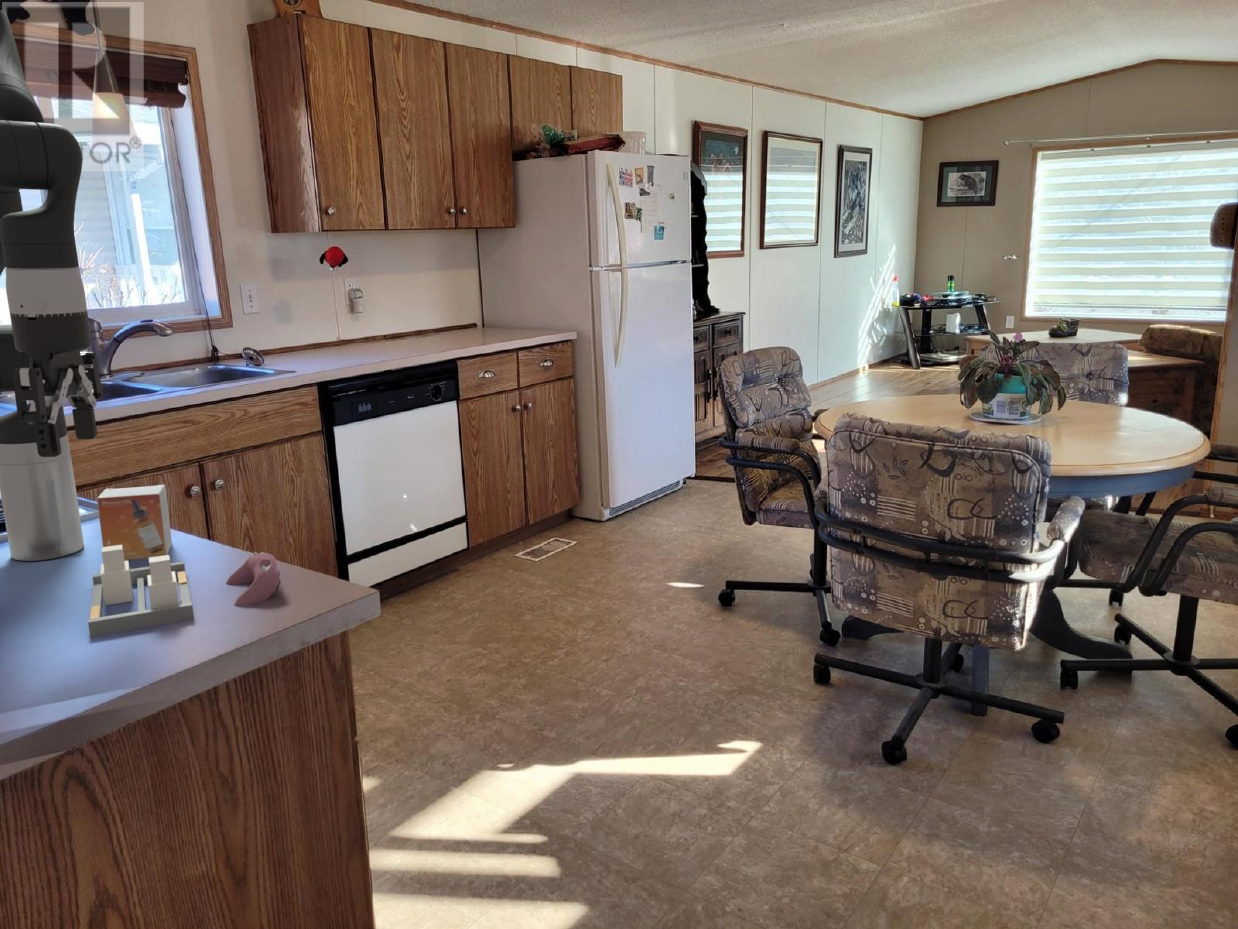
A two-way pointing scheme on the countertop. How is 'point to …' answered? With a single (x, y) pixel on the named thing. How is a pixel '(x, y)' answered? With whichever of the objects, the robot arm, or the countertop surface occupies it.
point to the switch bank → (139, 605)
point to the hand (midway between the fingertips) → (69, 447)
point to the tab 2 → (162, 583)
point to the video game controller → (257, 578)
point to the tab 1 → (115, 576)
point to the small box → (136, 520)
